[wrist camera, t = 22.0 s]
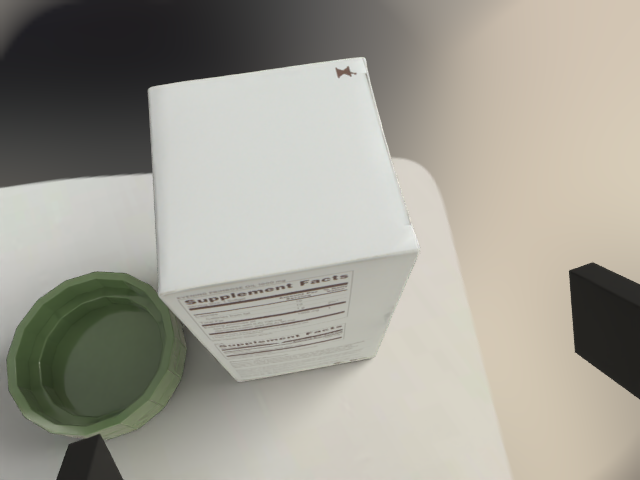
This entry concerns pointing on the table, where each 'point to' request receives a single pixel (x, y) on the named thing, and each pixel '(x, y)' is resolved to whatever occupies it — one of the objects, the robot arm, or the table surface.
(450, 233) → the table surface
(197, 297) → the supplement box
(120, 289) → the dish
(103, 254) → the table surface
